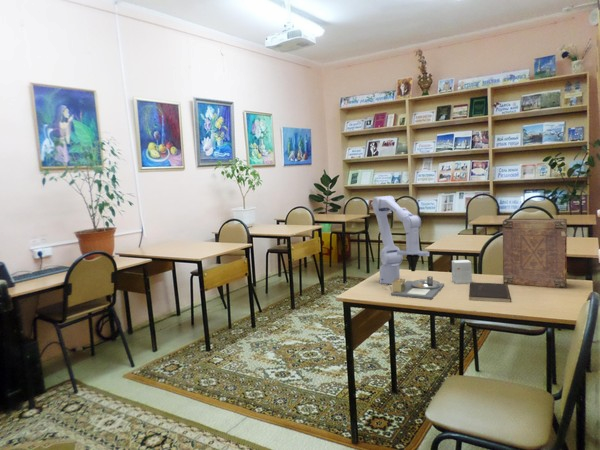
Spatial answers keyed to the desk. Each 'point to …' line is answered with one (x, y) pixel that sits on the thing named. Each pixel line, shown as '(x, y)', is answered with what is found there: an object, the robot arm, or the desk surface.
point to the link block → (398, 285)
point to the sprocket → (426, 283)
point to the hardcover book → (489, 292)
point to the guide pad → (419, 291)
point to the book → (535, 252)
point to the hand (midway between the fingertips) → (413, 270)
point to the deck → (428, 296)
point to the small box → (461, 271)
